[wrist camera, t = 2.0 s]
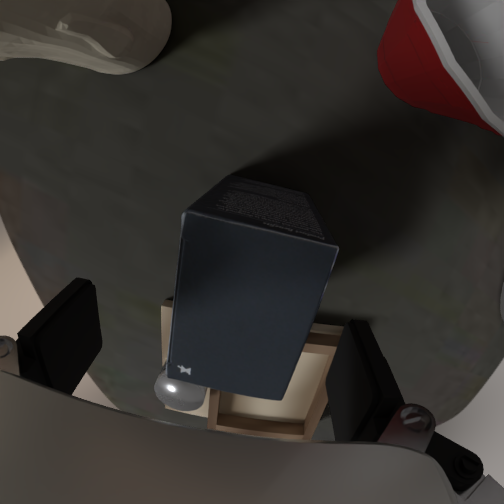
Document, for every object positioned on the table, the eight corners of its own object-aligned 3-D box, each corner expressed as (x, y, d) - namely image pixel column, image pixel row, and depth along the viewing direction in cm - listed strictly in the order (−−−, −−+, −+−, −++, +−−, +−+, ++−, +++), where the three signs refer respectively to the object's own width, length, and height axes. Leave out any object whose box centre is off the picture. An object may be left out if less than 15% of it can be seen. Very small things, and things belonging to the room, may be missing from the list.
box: (281, 296, 23) (282, 406, 13) (205, 278, 23) (160, 377, 13) (311, 191, 20) (344, 248, 10) (226, 171, 20) (178, 208, 10)
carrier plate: (349, 327, 24) (359, 359, 20) (312, 422, 28) (314, 454, 24) (165, 299, 24) (147, 327, 20) (167, 401, 28) (156, 430, 25)
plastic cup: (495, 68, 15) (609, 55, 4) (436, 172, 19) (557, 220, 8) (384, -28, 14) (453, -116, 3) (309, 74, 18) (349, 2, 6)
